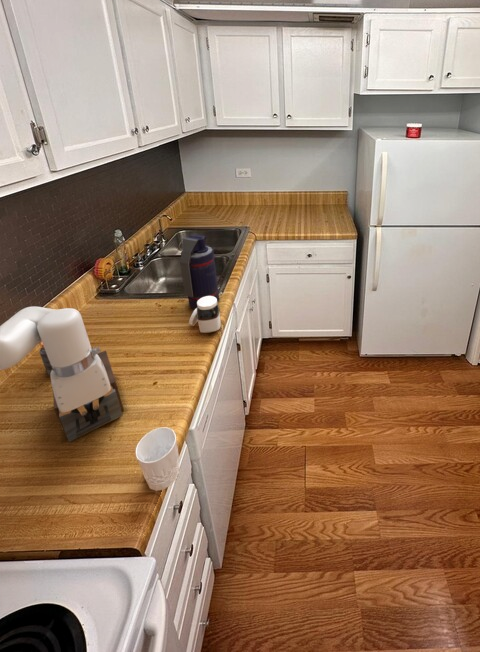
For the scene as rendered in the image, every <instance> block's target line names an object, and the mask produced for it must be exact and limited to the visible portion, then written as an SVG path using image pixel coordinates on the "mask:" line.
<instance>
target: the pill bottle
mask: <svg viewBox="0 0 480 652" xmlns="http://www.w3.org/2000/svg"><path fill="white" fill-rule="evenodd" d="M40 346H41V348H40V349H39V355H40V358H41V360H42V363H43V366H44V368H45V371H46V374H47V375H48V376H50V377H51V371H52V370H53V369H52V367H51V364H50V361H49V359H48V356H47V354H46V351H45V348H44V346H43V343H42V342H40Z"/></svg>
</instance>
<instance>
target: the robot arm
mask: <svg viewBox="0 0 480 652" xmlns="http://www.w3.org/2000/svg"><path fill="white" fill-rule="evenodd" d="M41 342H42V343H43V346H44V348H45V351H46V354H47V356H48V359H49V361H50V364H51V367H52V369H53V370H52V371H51V376H50V384H51V387H52V388H51V389H52V393H53V392H54V396H55V400H56V403H57V406H58V408H59V414H60V416H62V415H66V414H69V413H71V412H72V413H80V414H81V415H84V418H85V421H86V423H87V422H89V421H90V424H92V423H94V421H95V422H96V421H98V417H99V416H101V415H100V411H99V404H100V403H101V402H102V400H103V399H104V397H105V396H108V395H109V394H111V393H112V392H113V391H114V390H113V387H112V386H111V385H110V382H109V378H108V375H107V372H106V370H105V367H104V365H103V363H102V361H101V359H100V357H99V356H98V355H97V354H98V353H100V352H102V351H101V348H100V346H97V347H93V346H92V345H91V342H90V339H89V336H88V333H87V329H86V327H85V323H84V319H83V316H82V314H81V313H80V311H78V310H77V309H75V308H71V307H64V308H59V309H54V308H48V307H43V306H34V305H33V306H27V307H24V308H22V309H20V310H19V311H17V312H16V313H14V315H12V316H11V317H10V318H8V320H6V321H5V322H4V323H2V324H1V325H0V371H1V370H7V369H10V368H13V367H14V366H16V365H18V364H19V363H20V362H21V361H22V360H23V359H25V357H26V356H28V354H29V353H31V352H32V351H33V350H34V349H35V348H36V347H37V346H38V345H39V344H41ZM89 402H91V405H90V406H89V405H86V404H87V403H89ZM90 408H91V409H90ZM93 418H94V419H93Z"/></svg>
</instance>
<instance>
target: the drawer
mask: <svg viewBox="0 0 480 652" xmlns="http://www.w3.org/2000/svg"><path fill="white" fill-rule="evenodd" d="M113 390H114V391H113V392H112V393H111V394H109V395H108V396H105V397H104V399H103V400H102V402H101V403H100V404H99V411H100V415H101V416H99V417H98V421H96V422H95V421H94V423H92V424H90V421H89V422H87V423H86V421H85V418H84V415H81V414H80V413H72V412H71V413H69V414H66V415H62V416H60V414H59V418H60V421H61V423H62V426H63V428H64V431H65V433H66V436H67V441H68V442H69V443H71V442H72V441H74V440H76V439H79V438H80V437H82V436H84V435H86V434H89V433H90V432H93V431H94V430H96V429H98V428H100V427H102V426H105V425H106V424H108V423H110V422H113V421H114V420H116V419H119V418H121V417H122V416H123V411H122V412H121V408H120V405H119V402H118V398H117V395H116V391H115V389H113ZM86 405H89V406H90V405H91V402H89V403H87V404H86ZM90 409H91V408H90ZM93 419H94V418H93Z"/></svg>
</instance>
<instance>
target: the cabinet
mask: <svg viewBox="0 0 480 652" xmlns="http://www.w3.org/2000/svg"><path fill="white" fill-rule="evenodd" d="M97 355H98V356H99V357H100V359H101V361H102V363H103V365H104V367H105V370H106V372H107V375H108V378H109V382H110V385H111V386H112V387H113V389H115V391H116V395H117V398H118V402H119V405H120V408H121V412H122V413H123V412H124V411H125V408H124V406H123V402H122V398H121V396H120V391H119V389H118V385H117V382H116V379H115V376H114V375H115V374H114V372H113V369H112V366H111V362H110V359H109V357H108V353H107V350H103V351H101V352H99V353H97ZM52 398H53V409H54V412H55V415H56V417H57V419H58V422H59V424H60V427H61V430H62V432H63V434H64V437H65V439H66V440H68V438H67V436H66V433H65V431H64V428H63V426H62V423H61V421H60V418H59V408H58V406H57V403H56V400H55V396H54V392H53V391H52Z"/></svg>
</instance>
